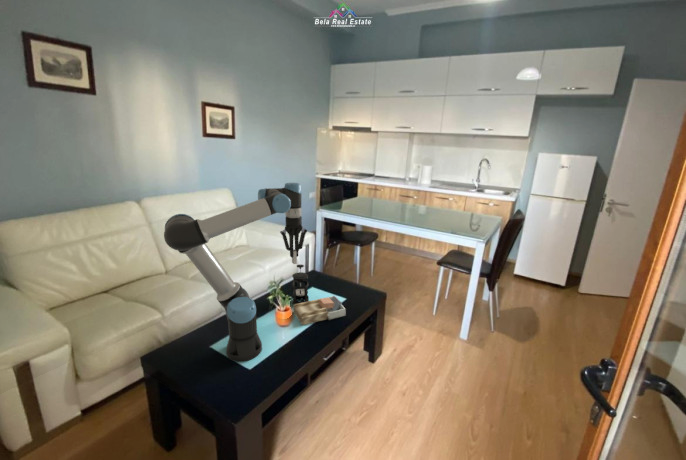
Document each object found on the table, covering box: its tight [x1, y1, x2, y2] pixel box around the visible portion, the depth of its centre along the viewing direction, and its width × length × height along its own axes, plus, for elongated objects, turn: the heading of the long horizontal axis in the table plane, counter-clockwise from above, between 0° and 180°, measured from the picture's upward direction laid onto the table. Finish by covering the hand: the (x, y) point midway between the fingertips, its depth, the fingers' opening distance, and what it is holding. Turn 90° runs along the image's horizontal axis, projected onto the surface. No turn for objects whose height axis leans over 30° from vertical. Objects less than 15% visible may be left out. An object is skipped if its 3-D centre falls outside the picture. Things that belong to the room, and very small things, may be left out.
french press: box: [291, 264, 310, 306], centre depth 181 cm, size 12×9×23 cm
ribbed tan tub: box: [292, 298, 329, 326], centre depth 170 cm, size 14×14×6 cm
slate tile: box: [331, 295, 343, 311], centre depth 176 cm, size 6×6×3 cm
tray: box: [325, 295, 347, 321], centre depth 176 cm, size 10×16×4 cm, turn 27°
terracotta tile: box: [318, 297, 334, 308], centre depth 173 cm, size 6×6×3 cm
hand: (294, 262), depth 156 cm, fingers closed
